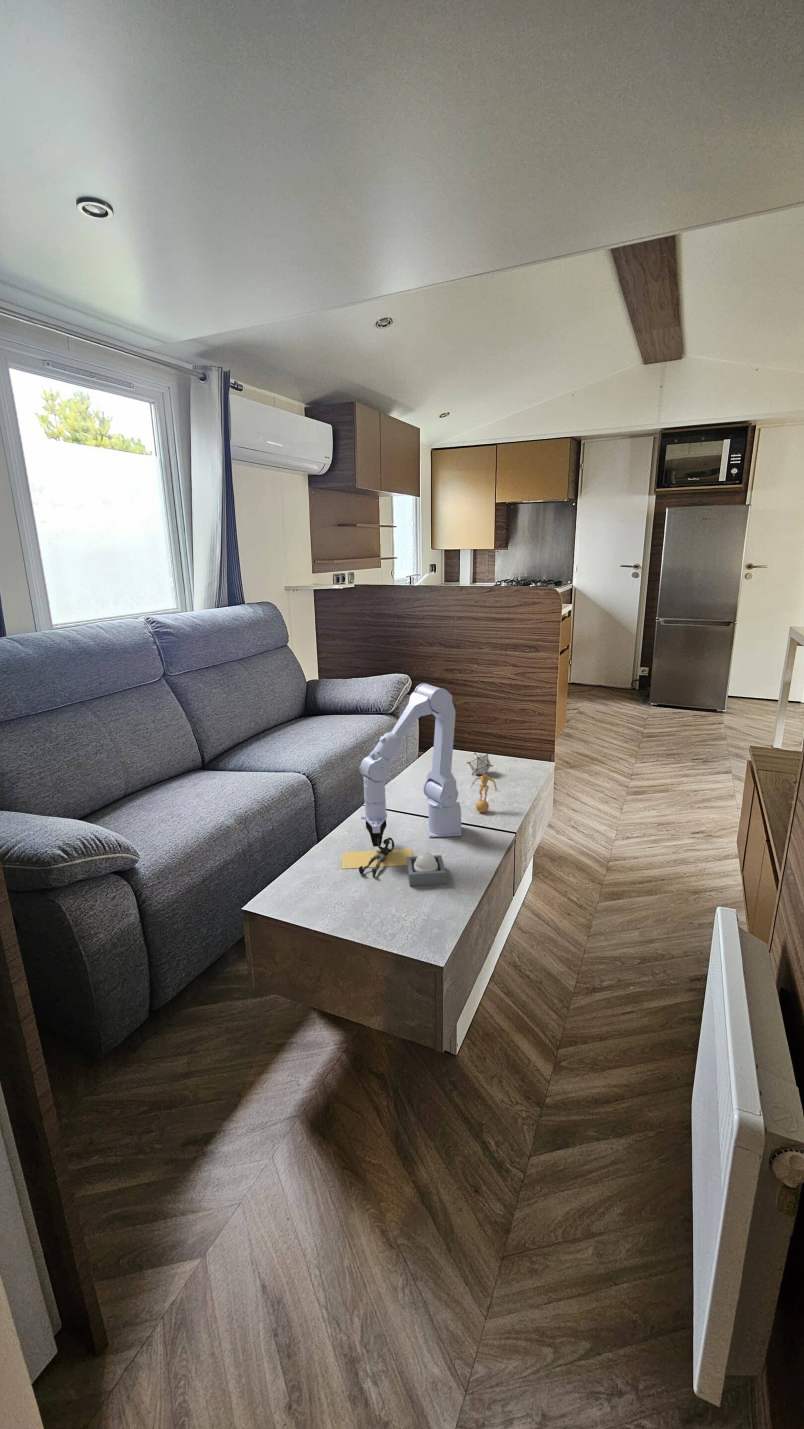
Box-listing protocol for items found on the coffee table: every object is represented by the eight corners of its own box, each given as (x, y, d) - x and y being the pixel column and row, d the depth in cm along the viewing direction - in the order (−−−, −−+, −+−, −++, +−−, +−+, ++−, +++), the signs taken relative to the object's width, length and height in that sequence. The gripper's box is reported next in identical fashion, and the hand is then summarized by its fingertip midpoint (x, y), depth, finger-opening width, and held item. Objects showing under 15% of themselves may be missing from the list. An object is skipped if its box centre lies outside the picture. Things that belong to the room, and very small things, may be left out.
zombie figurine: (357, 850, 156) (381, 826, 169) (358, 874, 158) (381, 849, 171) (377, 853, 154) (399, 829, 168) (378, 878, 156) (399, 852, 169)
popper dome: (436, 865, 159) (436, 847, 158) (439, 877, 153) (438, 858, 152) (413, 867, 159) (412, 848, 157) (415, 879, 153) (414, 860, 152)
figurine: (467, 812, 193) (467, 776, 190) (473, 805, 198) (473, 770, 195) (493, 816, 190) (494, 779, 187) (498, 808, 195) (499, 773, 192)
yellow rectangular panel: (411, 849, 171) (411, 848, 171) (414, 865, 162) (414, 864, 162) (342, 852, 170) (342, 852, 170) (341, 869, 161) (341, 868, 161)
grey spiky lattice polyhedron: (475, 783, 227) (464, 758, 230) (496, 774, 227) (485, 749, 230) (474, 779, 219) (463, 754, 221) (496, 770, 218) (485, 744, 221)
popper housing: (441, 866, 161) (441, 855, 160) (445, 884, 152) (445, 872, 151) (407, 868, 160) (406, 857, 160) (409, 886, 152) (409, 874, 151)
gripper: (360, 790, 173) (362, 834, 177) (360, 811, 159) (362, 859, 163) (385, 789, 174) (386, 833, 177) (387, 810, 160) (389, 857, 163)
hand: (376, 845), depth 170 cm, fingers closed
